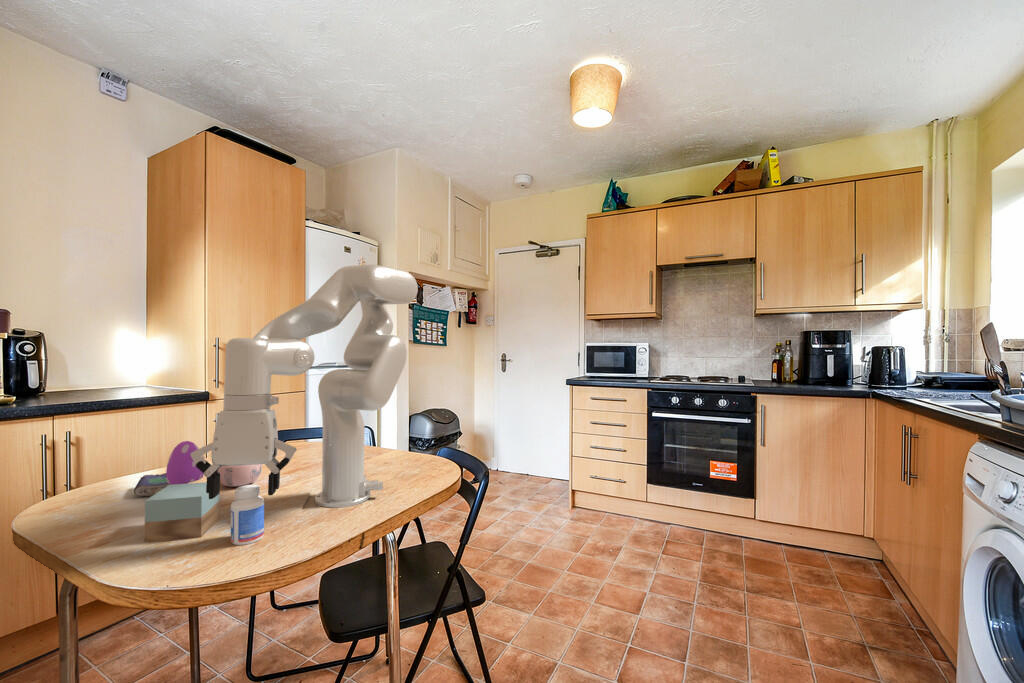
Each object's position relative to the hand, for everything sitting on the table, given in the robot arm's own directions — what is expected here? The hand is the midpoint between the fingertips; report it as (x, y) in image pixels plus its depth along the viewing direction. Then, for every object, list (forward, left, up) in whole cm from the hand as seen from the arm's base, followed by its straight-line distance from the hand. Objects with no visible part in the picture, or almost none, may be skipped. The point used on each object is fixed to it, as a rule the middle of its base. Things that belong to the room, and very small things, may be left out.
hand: (243, 494), depth 81 cm
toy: (+17, -21, -9) cm, 28 cm away
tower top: (+12, -8, -5) cm, 15 cm away
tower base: (+12, -8, -9) cm, 17 cm away
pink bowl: (+11, -38, -9) cm, 40 cm away
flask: (+30, -38, -10) cm, 49 cm away
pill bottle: (-1, -1, -9) cm, 9 cm away
